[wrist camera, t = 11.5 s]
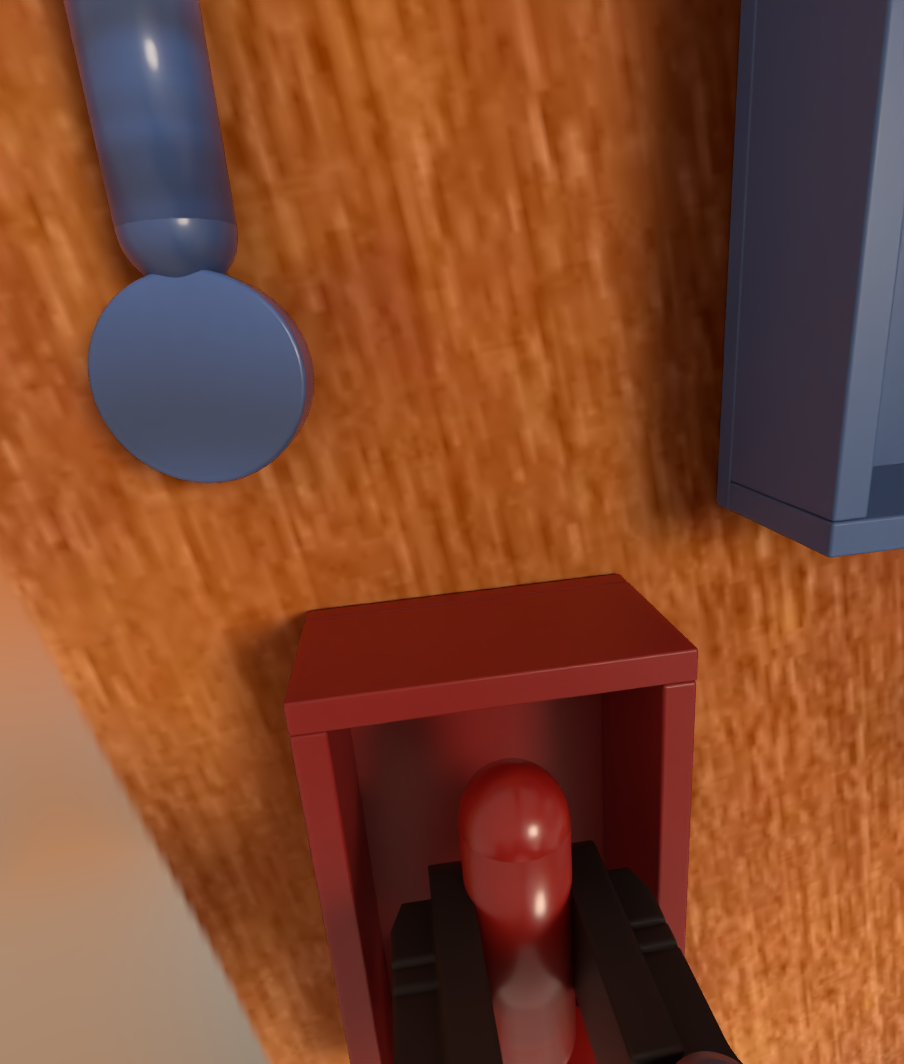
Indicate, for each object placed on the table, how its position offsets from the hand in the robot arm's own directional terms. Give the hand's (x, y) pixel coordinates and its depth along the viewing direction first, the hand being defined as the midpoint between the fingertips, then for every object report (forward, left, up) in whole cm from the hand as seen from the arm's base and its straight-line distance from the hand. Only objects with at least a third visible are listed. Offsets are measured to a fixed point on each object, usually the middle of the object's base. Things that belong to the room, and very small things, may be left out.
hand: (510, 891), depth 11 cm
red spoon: (+2, 0, 0) cm, 2 cm away
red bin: (+2, 0, -3) cm, 4 cm away
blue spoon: (-12, -4, -3) cm, 13 cm away
